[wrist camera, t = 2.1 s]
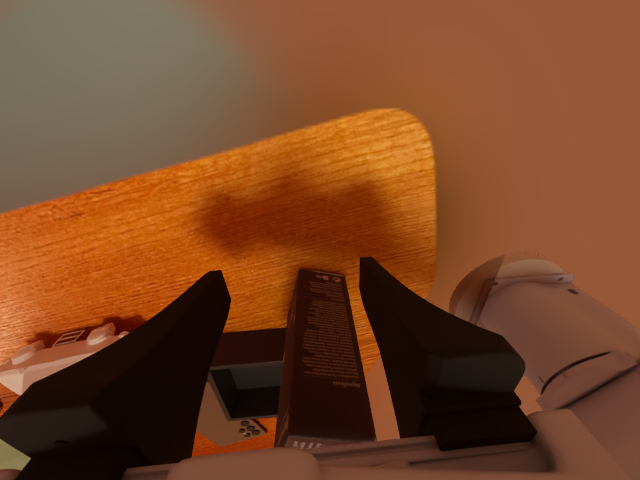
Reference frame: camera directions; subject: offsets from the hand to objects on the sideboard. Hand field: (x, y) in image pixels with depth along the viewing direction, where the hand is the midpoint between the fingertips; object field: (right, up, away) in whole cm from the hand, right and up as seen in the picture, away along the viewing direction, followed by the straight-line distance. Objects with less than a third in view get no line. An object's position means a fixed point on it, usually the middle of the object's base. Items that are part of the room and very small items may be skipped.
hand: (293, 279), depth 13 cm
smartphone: (-12, -20, +18) cm, 30 cm away
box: (+1, -3, +10) cm, 10 cm away
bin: (-4, -11, +14) cm, 18 cm away
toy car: (-20, -8, +11) cm, 24 cm away
